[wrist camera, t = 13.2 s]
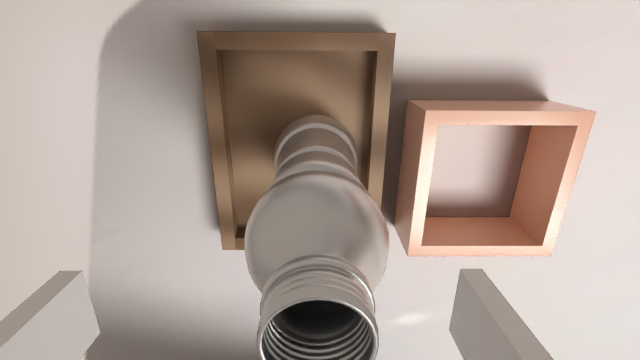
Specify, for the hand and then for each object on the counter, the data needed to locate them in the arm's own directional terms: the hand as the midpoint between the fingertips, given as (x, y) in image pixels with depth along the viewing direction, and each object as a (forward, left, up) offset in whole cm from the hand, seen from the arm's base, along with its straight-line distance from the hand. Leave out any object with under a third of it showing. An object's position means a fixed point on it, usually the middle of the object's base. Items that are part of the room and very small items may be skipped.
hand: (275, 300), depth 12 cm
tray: (0, 0, -19) cm, 19 cm away
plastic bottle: (0, -2, -18) cm, 18 cm away
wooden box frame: (-2, -15, -19) cm, 24 cm away
